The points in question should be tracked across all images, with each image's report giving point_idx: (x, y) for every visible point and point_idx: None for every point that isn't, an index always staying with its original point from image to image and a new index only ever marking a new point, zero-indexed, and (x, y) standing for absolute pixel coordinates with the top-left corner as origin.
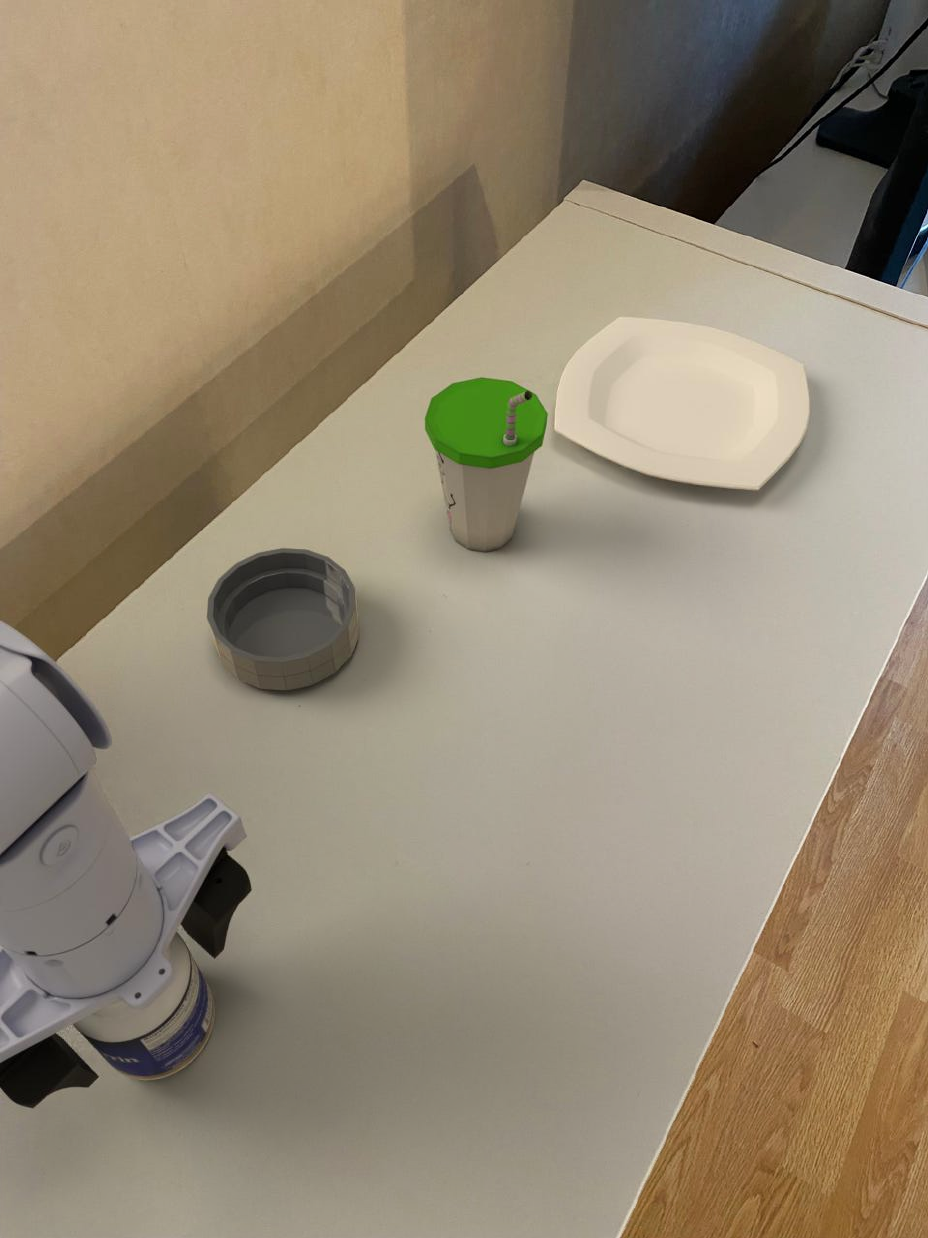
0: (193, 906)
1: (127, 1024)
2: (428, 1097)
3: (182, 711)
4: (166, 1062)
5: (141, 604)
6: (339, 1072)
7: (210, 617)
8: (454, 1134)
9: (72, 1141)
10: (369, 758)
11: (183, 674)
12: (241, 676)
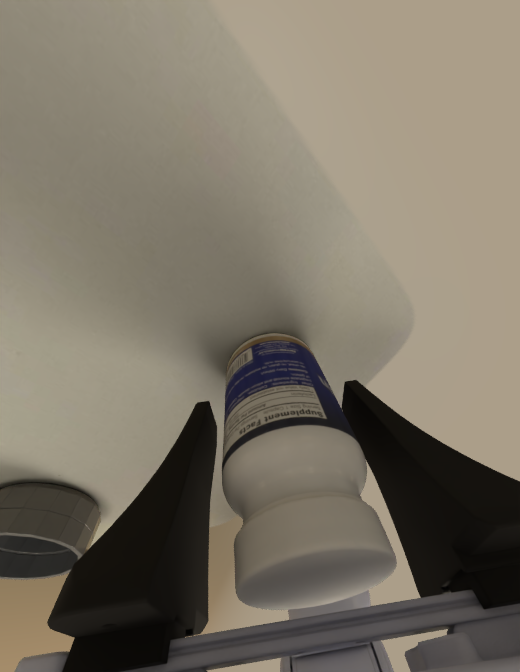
0: (181, 559)
1: (338, 458)
2: (83, 117)
3: None
4: (294, 354)
5: None
6: (169, 233)
7: None
8: (66, 32)
9: (364, 341)
10: (12, 429)
11: None
12: (88, 510)
